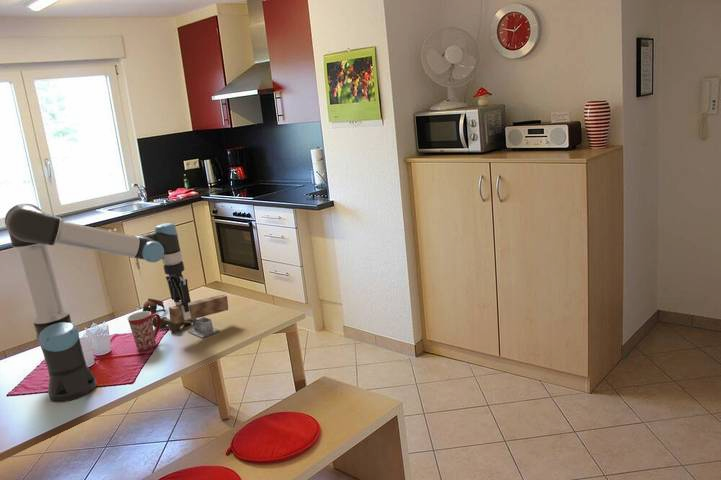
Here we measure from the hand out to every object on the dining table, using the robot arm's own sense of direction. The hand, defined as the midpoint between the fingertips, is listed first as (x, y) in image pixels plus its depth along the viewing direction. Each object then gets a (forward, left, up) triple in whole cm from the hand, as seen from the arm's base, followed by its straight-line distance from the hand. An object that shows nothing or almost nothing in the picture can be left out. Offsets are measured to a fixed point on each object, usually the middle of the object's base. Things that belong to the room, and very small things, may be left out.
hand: (184, 317), depth 237 cm
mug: (-13, +8, -9) cm, 18 cm away
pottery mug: (+5, +43, -9) cm, 44 cm away
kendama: (+2, +17, -9) cm, 19 cm away
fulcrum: (+7, 0, -9) cm, 11 cm away
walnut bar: (+7, 0, -2) cm, 7 cm away
